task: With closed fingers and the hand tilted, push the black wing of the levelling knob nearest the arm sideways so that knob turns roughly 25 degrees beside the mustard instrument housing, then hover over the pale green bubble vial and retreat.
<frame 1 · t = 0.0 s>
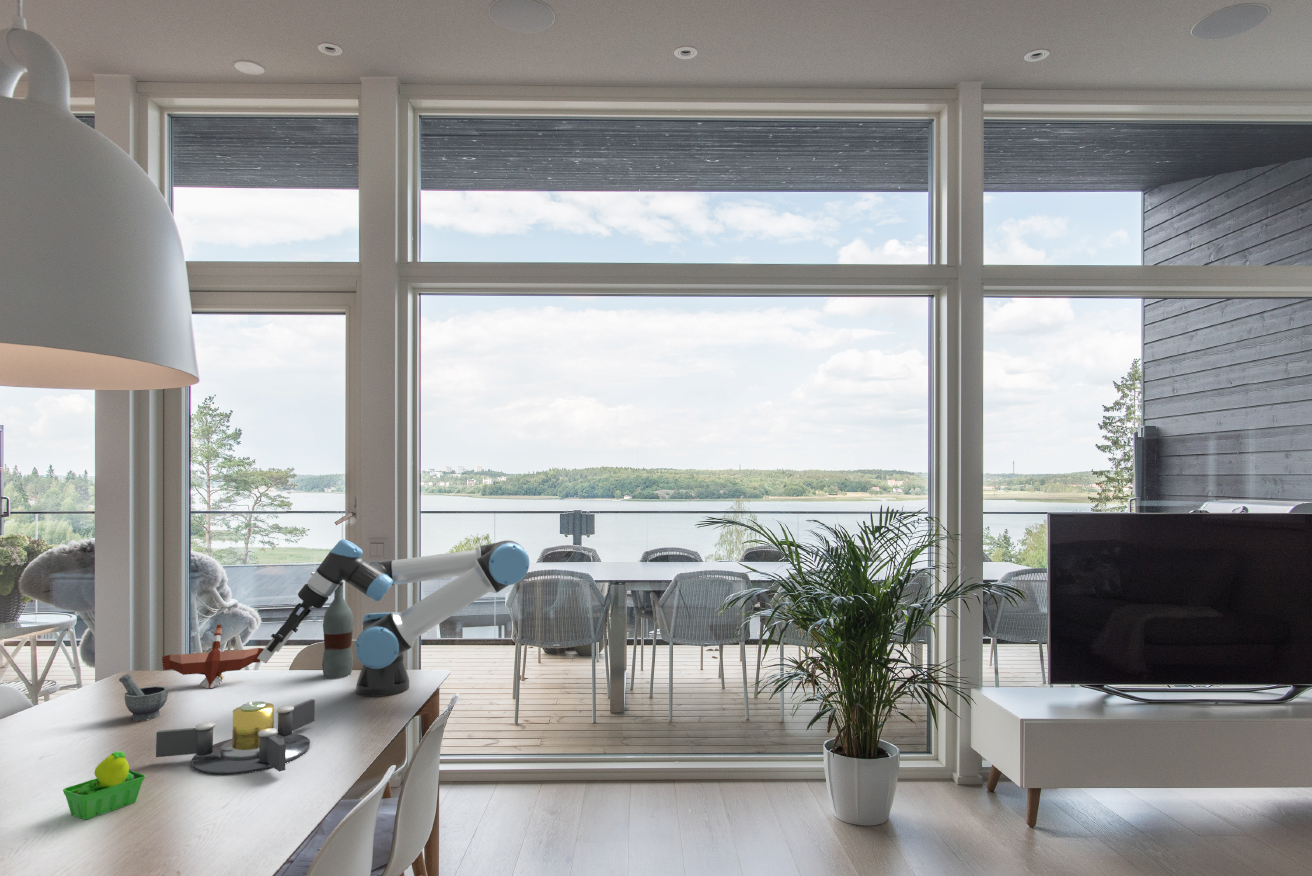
hand: (267, 654, 206), 15 cm above the table, tool tilted 35°, fingers open, 13 cm apart
knob far: (185, 740, 170), point 4 cm above the table, hinge at 0.0°
decorative bird: (213, 684, 234), on the table
knob left: (273, 749, 164), point 4 cm above the table, hinge at 0.0°
tribrach: (252, 754, 173), on the table
mortar and pestle: (142, 718, 201), on the table
fruit basket: (105, 810, 145), on the table
bottle: (337, 675, 243), on the table
knob near arm: (296, 716, 187), point 4 cm above the table, hinge at 0.0°
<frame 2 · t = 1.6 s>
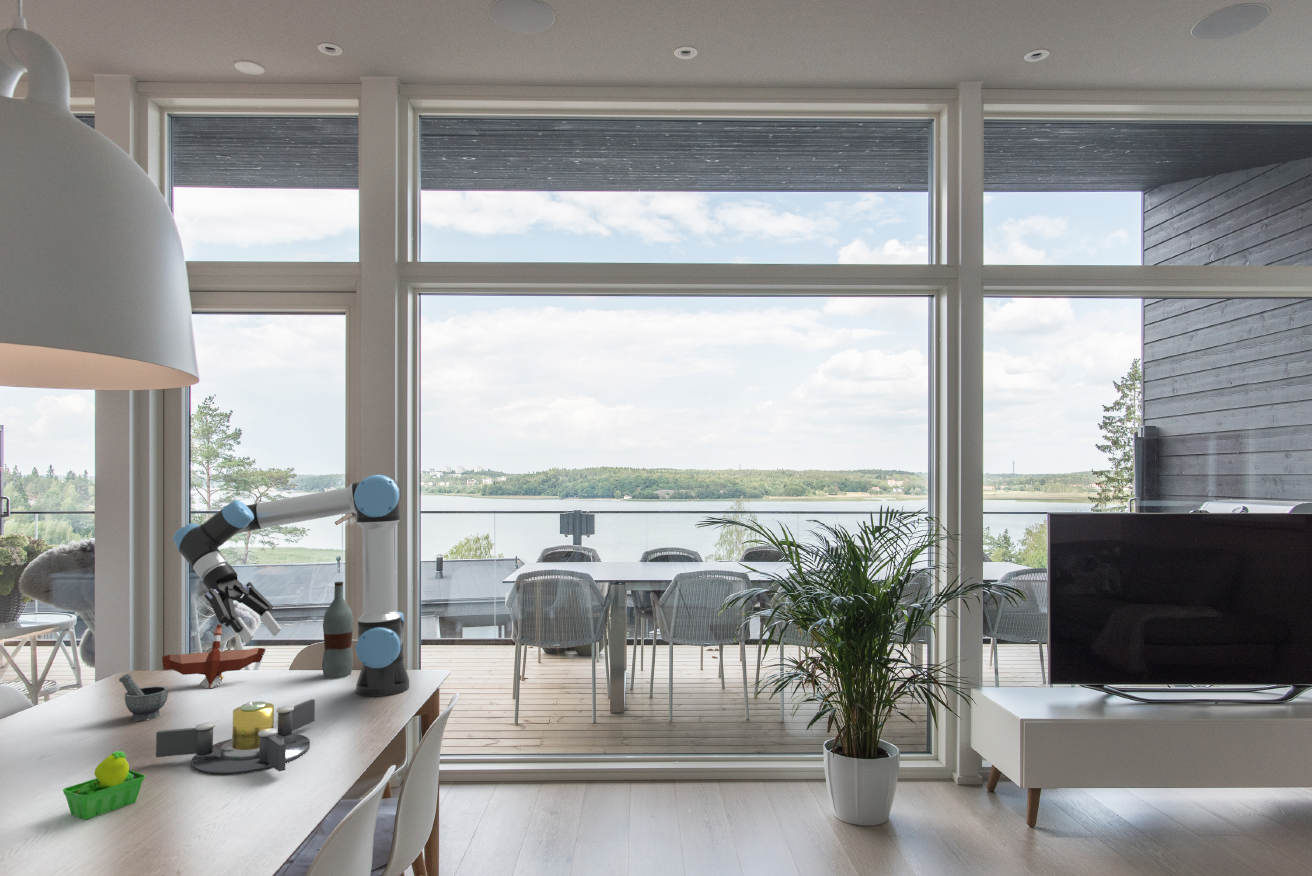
hand: (264, 636, 195), 23 cm above the table, tool tilted 45°, fingers open, 9 cm apart
nothing on the table moved.
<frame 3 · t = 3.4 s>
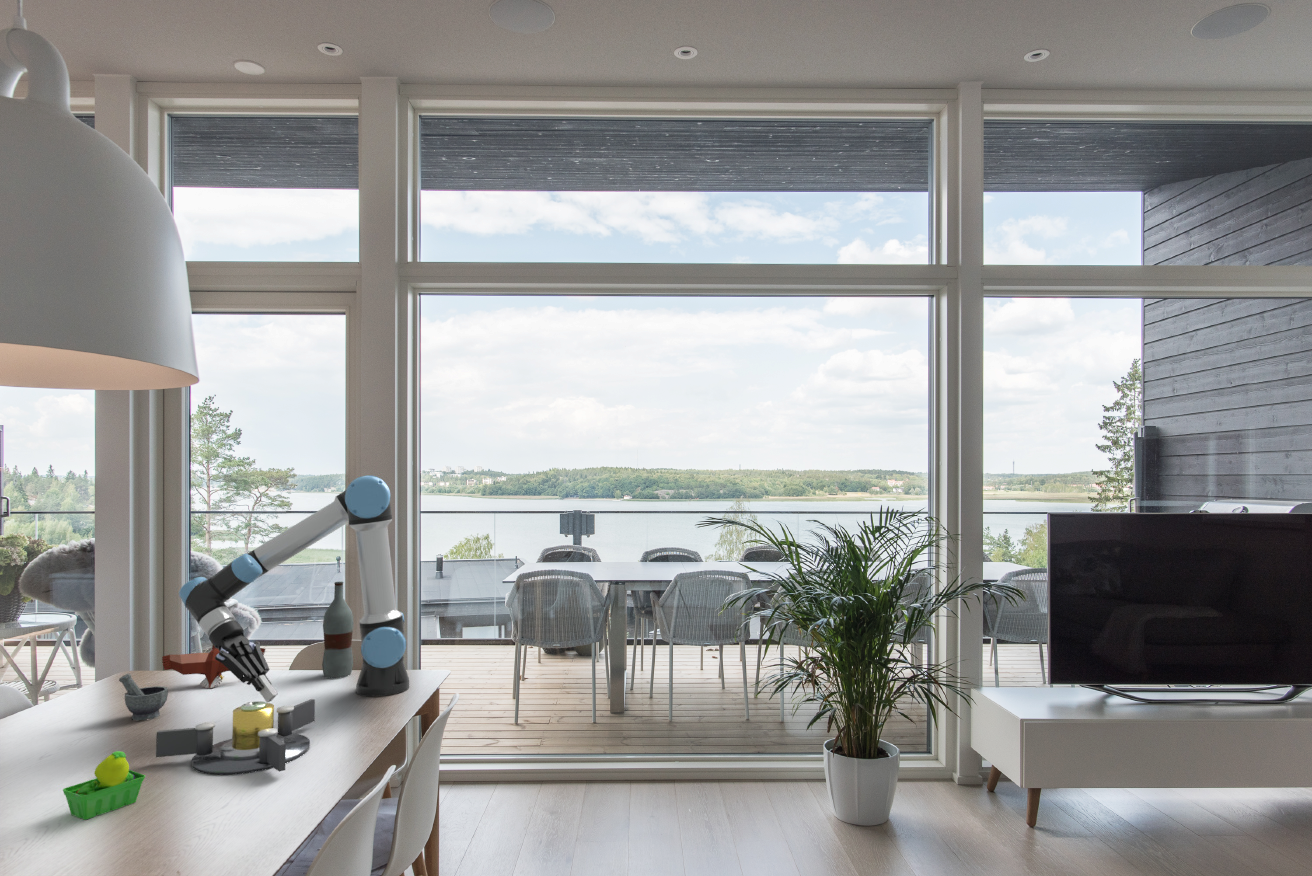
hand: (272, 698, 192), 8 cm above the table, tool tilted 45°, fingers closed
nothing on the table moved.
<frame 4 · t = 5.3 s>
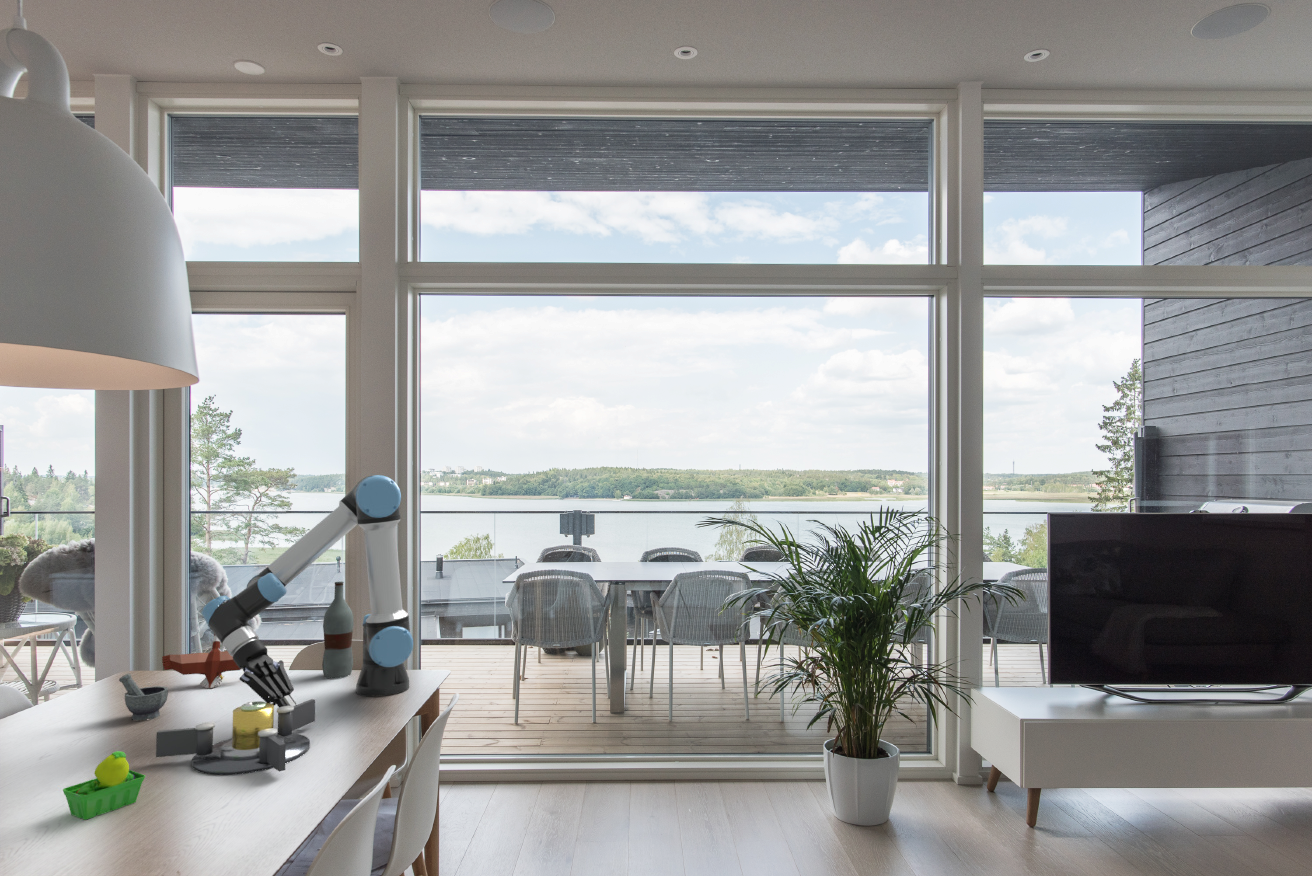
hand: (297, 719, 189), 3 cm above the table, tool tilted 45°, fingers closed
knob near arm: (296, 716, 187), point 4 cm above the table, hinge at -0.8°, touching gripper
everything else where it was.
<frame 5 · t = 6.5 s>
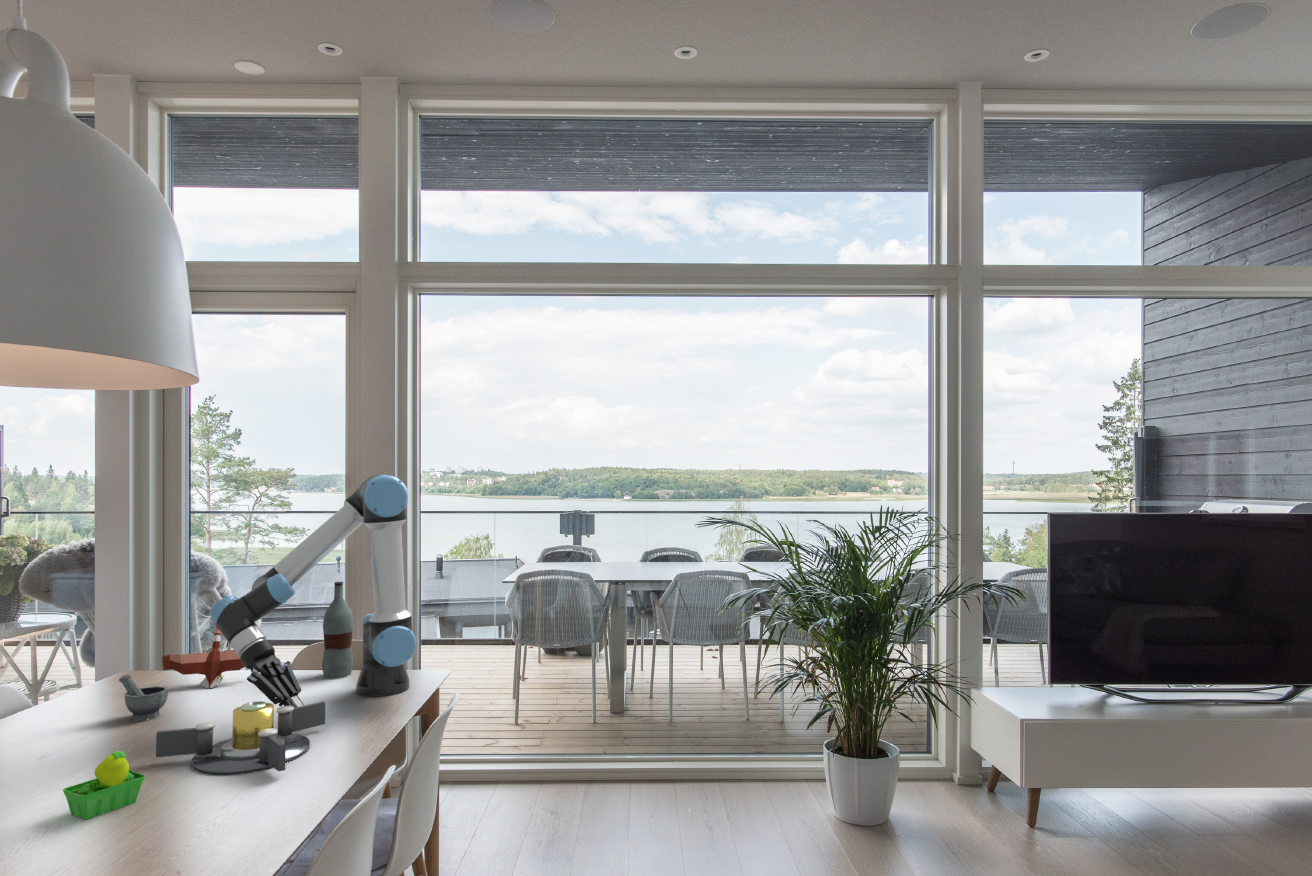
hand: (304, 720, 189), 3 cm above the table, tool tilted 45°, fingers closed
knob near arm: (301, 717, 186), point 4 cm above the table, hinge at -26.3°, touching gripper
everything else where it was.
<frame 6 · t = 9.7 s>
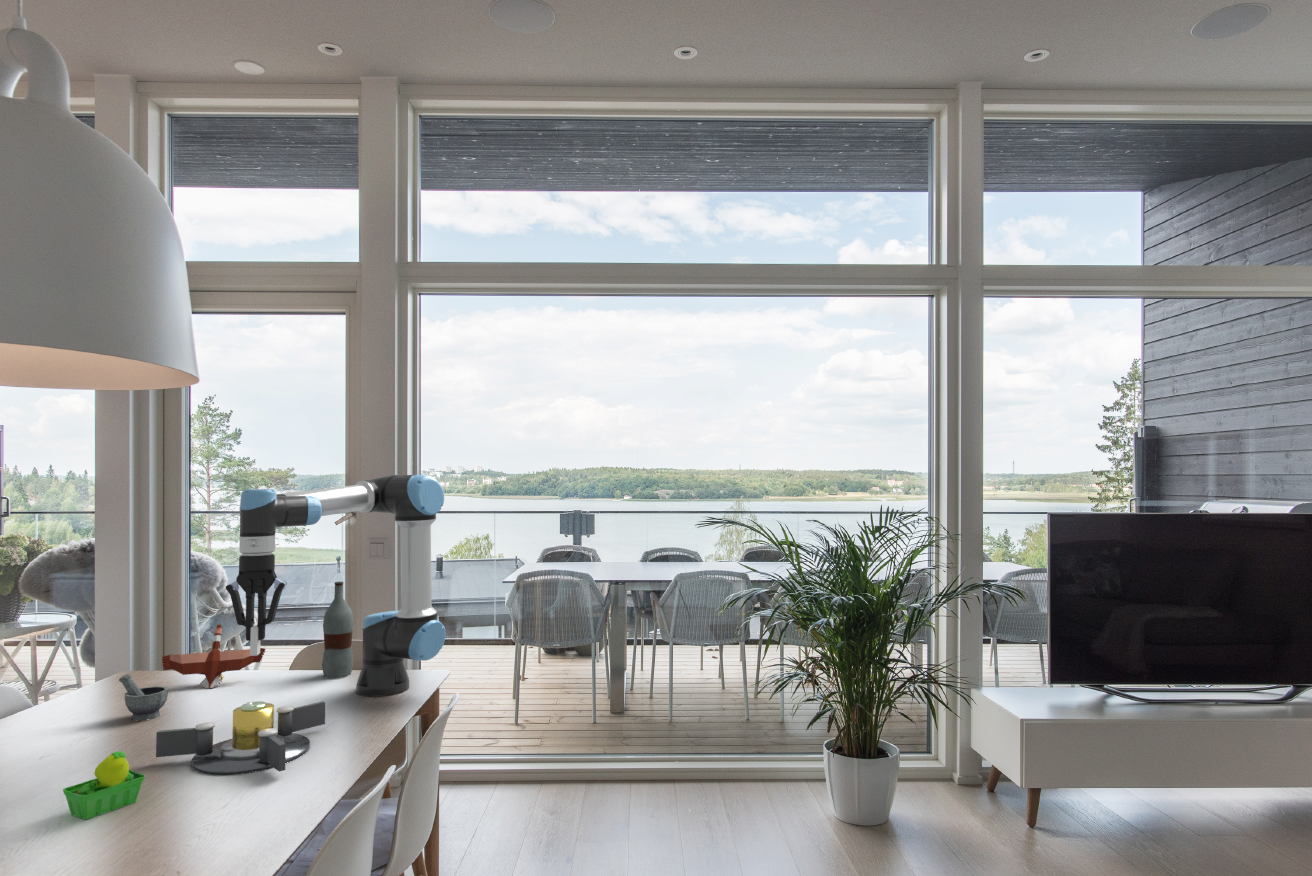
hand: (255, 654, 177), 22 cm above the table, tool pointing down, fingers closed
knob near arm: (301, 717, 186), point 4 cm above the table, hinge at -26.5°
everything else where it was.
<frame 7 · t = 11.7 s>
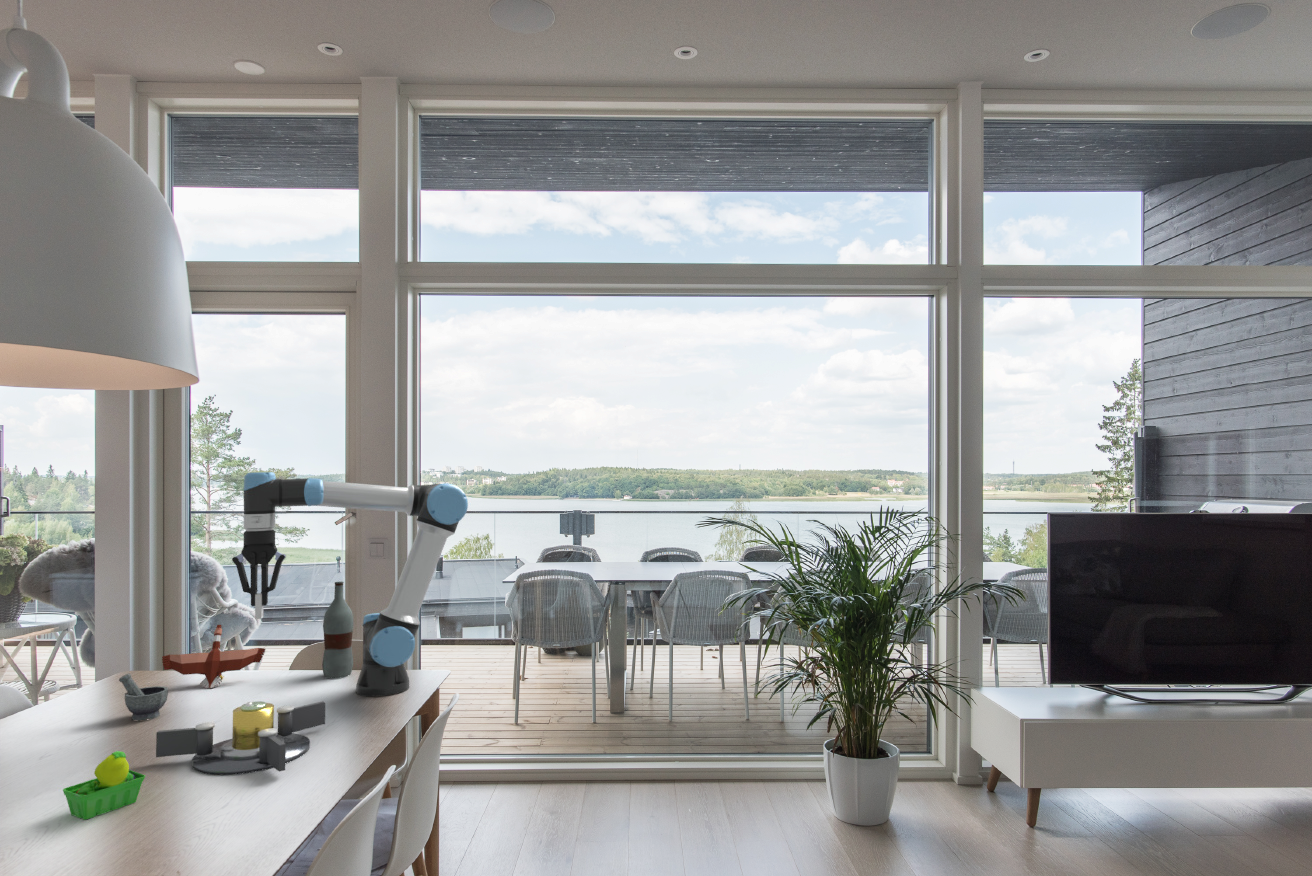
hand: (259, 618, 200), 27 cm above the table, tool pointing down, fingers closed
nothing on the table moved.
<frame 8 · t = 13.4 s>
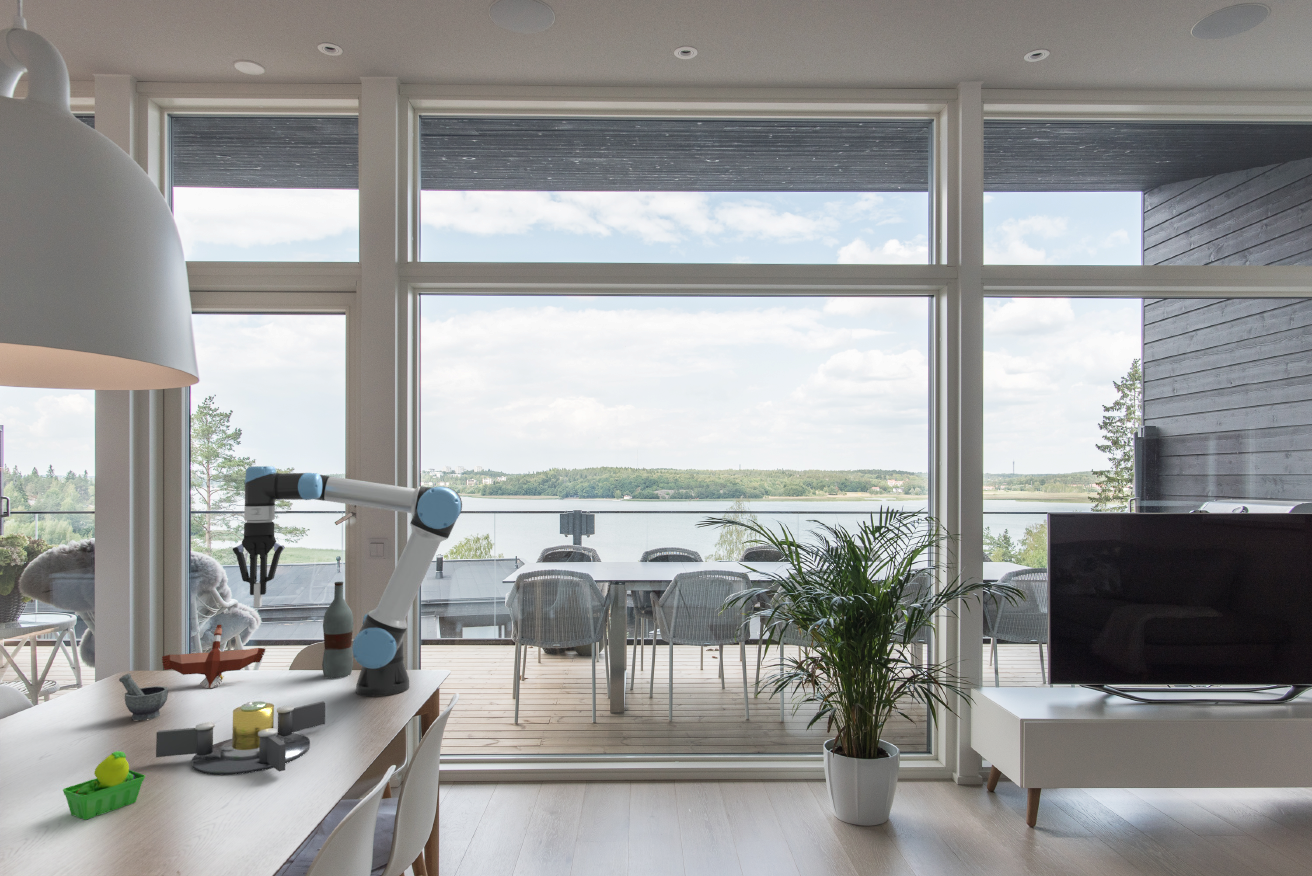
hand: (257, 606, 208), 28 cm above the table, tool pointing down, fingers closed
nothing on the table moved.
at the end: knob near arm at -26° (first picture: +0°); knob far at +0° (first picture: +0°); knob left at +0° (first picture: +0°) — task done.
